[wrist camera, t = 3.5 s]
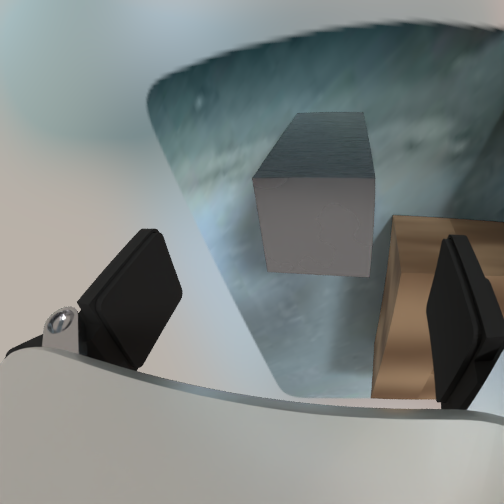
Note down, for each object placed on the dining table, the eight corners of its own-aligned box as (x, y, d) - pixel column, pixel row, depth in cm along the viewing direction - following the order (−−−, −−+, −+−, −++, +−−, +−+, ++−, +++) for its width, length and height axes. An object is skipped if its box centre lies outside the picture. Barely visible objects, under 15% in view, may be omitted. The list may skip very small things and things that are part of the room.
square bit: (297, 113, 18) (252, 178, 10) (363, 112, 17) (375, 179, 9) (303, 172, 20) (267, 271, 13) (365, 173, 19) (369, 277, 12)
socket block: (392, 215, 20) (401, 272, 16) (551, 227, 16) (584, 278, 11) (374, 343, 28) (370, 398, 24) (499, 344, 24) (509, 394, 19)
